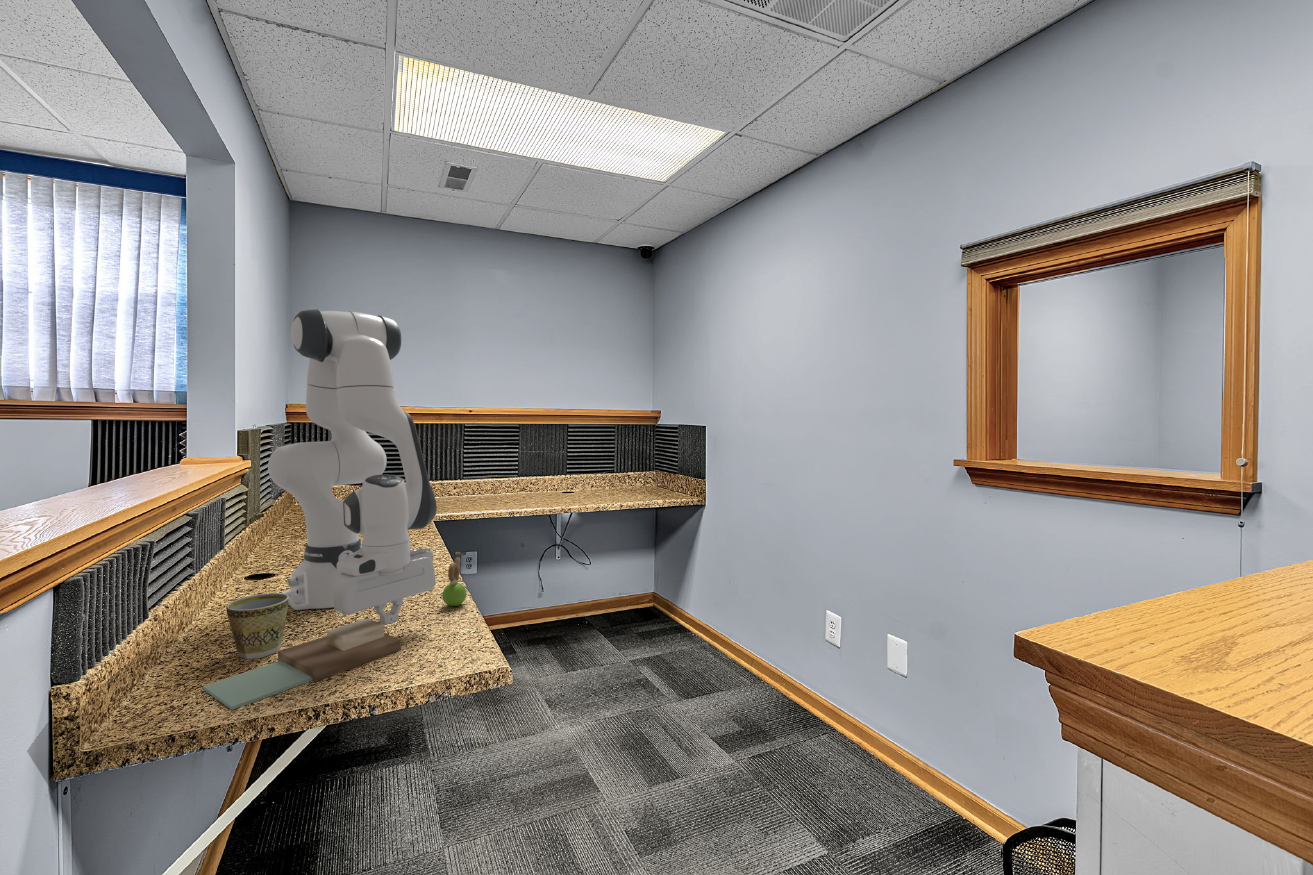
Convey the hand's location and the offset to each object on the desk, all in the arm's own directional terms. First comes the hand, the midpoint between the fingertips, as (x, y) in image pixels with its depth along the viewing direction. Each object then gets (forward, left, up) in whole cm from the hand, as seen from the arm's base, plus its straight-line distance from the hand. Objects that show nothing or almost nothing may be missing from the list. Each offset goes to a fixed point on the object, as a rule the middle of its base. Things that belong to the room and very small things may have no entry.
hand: (389, 622), depth 120 cm
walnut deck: (0, -10, -3) cm, 10 cm away
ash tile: (0, -7, -1) cm, 7 cm away
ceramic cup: (-16, -17, -4) cm, 23 cm away
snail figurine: (-6, +20, -4) cm, 21 cm away
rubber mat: (0, -24, -3) cm, 24 cm away
